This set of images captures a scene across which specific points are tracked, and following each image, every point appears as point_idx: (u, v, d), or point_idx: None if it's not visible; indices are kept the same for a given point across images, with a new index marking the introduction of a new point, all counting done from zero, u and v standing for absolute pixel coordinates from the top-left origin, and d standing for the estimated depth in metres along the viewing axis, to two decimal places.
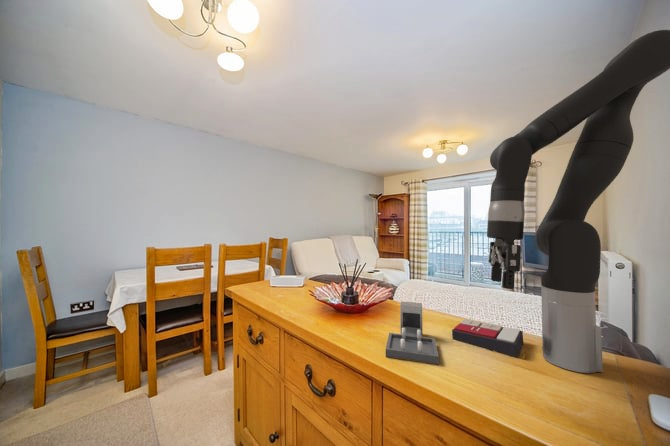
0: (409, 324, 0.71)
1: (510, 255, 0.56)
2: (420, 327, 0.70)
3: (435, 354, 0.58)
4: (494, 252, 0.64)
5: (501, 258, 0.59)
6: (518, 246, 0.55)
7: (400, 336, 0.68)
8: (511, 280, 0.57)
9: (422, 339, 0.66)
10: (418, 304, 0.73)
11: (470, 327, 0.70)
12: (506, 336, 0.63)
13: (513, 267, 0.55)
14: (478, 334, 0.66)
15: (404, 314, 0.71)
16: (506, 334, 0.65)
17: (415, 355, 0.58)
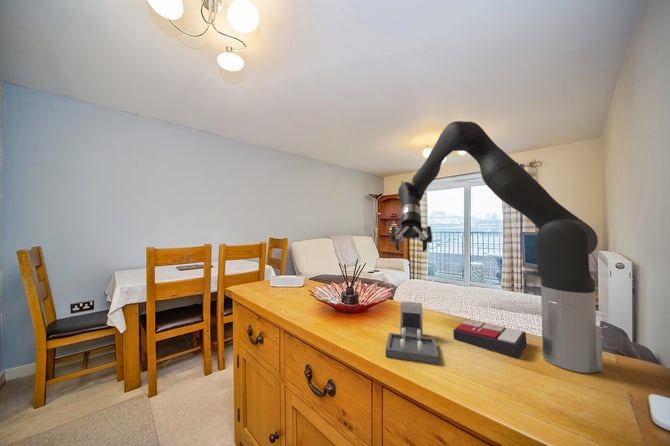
0: (409, 324, 0.71)
1: None
2: (420, 327, 0.70)
3: (435, 354, 0.58)
4: None
5: None
6: None
7: (400, 336, 0.68)
8: (395, 244, 0.88)
9: (422, 339, 0.66)
10: (418, 304, 0.73)
11: (472, 327, 0.70)
12: (507, 337, 0.63)
13: None
14: (479, 334, 0.66)
15: (404, 314, 0.71)
16: (508, 335, 0.64)
17: (415, 355, 0.58)
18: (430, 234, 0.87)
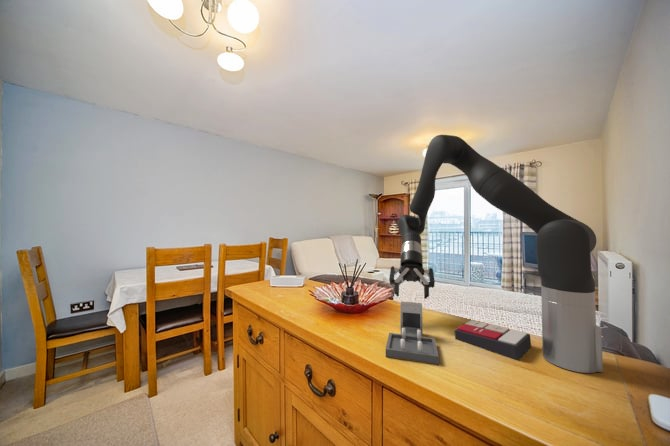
0: (409, 324, 0.71)
1: None
2: (420, 327, 0.70)
3: (435, 354, 0.58)
4: None
5: None
6: None
7: (400, 336, 0.68)
8: (394, 288, 0.81)
9: (422, 339, 0.66)
10: (418, 304, 0.73)
11: (474, 328, 0.69)
12: (509, 338, 0.62)
13: None
14: (480, 335, 0.65)
15: (404, 314, 0.71)
16: (510, 336, 0.63)
17: (415, 355, 0.58)
18: (432, 278, 0.80)
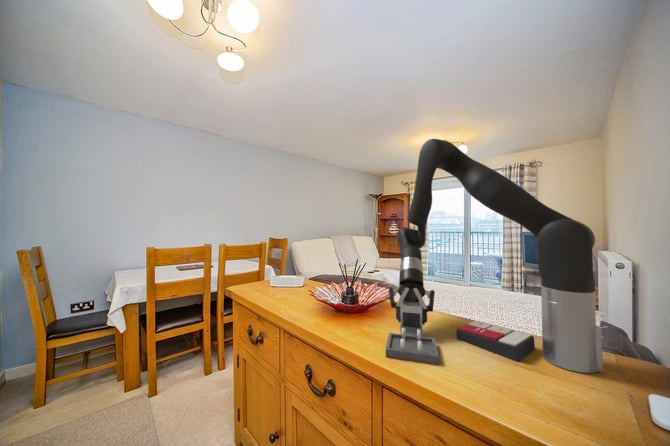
0: (409, 324, 0.71)
1: None
2: (420, 327, 0.70)
3: (435, 354, 0.58)
4: None
5: None
6: None
7: (400, 336, 0.68)
8: (396, 313, 0.74)
9: (422, 339, 0.66)
10: (418, 304, 0.73)
11: (476, 328, 0.69)
12: (510, 339, 0.62)
13: None
14: (481, 335, 0.65)
15: (404, 314, 0.71)
16: (511, 337, 0.63)
17: (415, 355, 0.58)
18: (432, 302, 0.73)
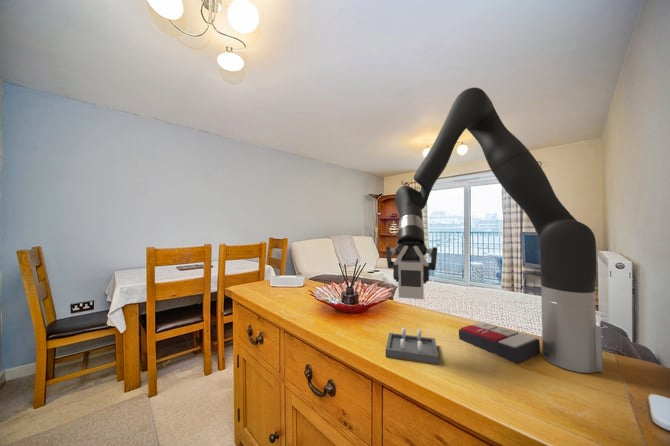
0: (408, 283, 0.62)
1: None
2: (421, 286, 0.61)
3: (435, 354, 0.58)
4: None
5: None
6: None
7: (400, 336, 0.68)
8: None
9: (422, 339, 0.66)
10: (418, 261, 0.64)
11: (479, 329, 0.69)
12: (511, 341, 0.61)
13: None
14: (482, 336, 0.65)
15: (402, 272, 0.63)
16: (513, 339, 0.61)
17: (415, 355, 0.58)
18: (434, 259, 0.64)
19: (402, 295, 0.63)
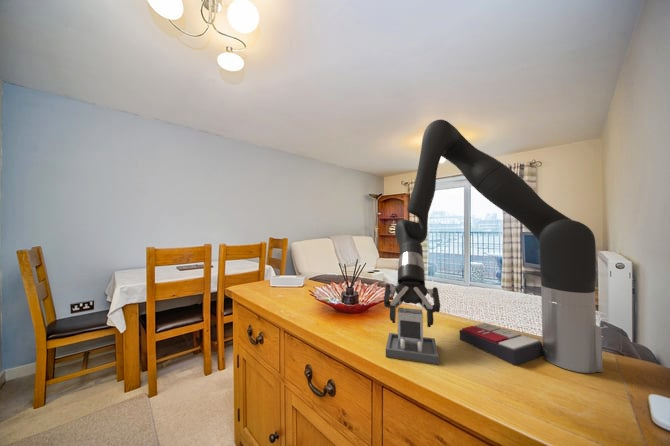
0: (407, 334, 0.62)
1: None
2: (420, 338, 0.61)
3: (435, 354, 0.58)
4: None
5: None
6: None
7: None
8: (390, 313, 0.65)
9: None
10: (418, 311, 0.63)
11: (480, 330, 0.68)
12: (511, 343, 0.60)
13: None
14: (482, 337, 0.64)
15: (402, 322, 0.62)
16: (514, 341, 0.60)
17: (415, 355, 0.58)
18: (437, 301, 0.64)
19: None
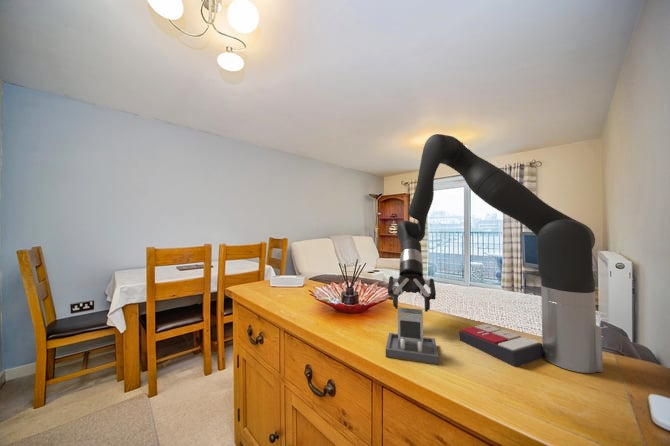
0: (407, 334, 0.62)
1: None
2: (420, 338, 0.61)
3: (435, 354, 0.58)
4: None
5: None
6: None
7: None
8: (393, 300, 0.76)
9: None
10: (418, 311, 0.63)
11: (480, 331, 0.67)
12: (511, 344, 0.59)
13: None
14: (481, 338, 0.64)
15: (402, 322, 0.62)
16: (514, 343, 0.60)
17: (415, 355, 0.58)
18: (433, 290, 0.75)
19: None
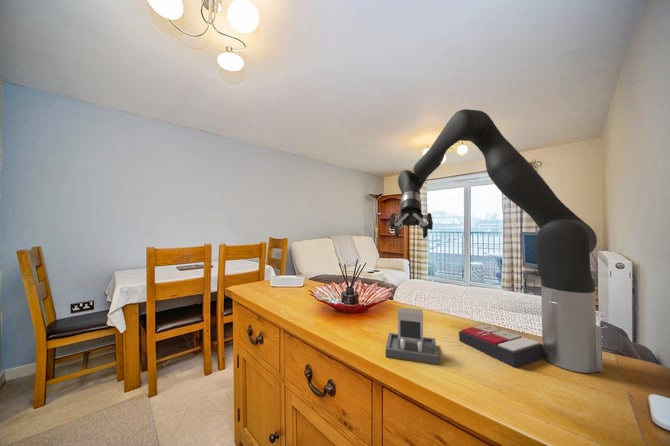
0: (407, 334, 0.62)
1: None
2: (420, 338, 0.61)
3: (435, 354, 0.58)
4: None
5: None
6: None
7: None
8: None
9: None
10: (418, 311, 0.63)
11: (480, 331, 0.67)
12: (511, 345, 0.59)
13: None
14: (481, 338, 0.63)
15: (402, 322, 0.62)
16: (514, 343, 0.60)
17: (415, 355, 0.58)
18: (431, 221, 0.84)
19: None
